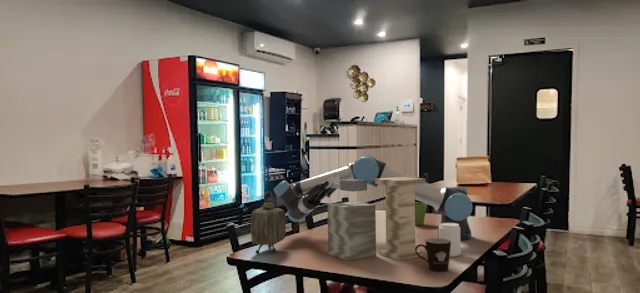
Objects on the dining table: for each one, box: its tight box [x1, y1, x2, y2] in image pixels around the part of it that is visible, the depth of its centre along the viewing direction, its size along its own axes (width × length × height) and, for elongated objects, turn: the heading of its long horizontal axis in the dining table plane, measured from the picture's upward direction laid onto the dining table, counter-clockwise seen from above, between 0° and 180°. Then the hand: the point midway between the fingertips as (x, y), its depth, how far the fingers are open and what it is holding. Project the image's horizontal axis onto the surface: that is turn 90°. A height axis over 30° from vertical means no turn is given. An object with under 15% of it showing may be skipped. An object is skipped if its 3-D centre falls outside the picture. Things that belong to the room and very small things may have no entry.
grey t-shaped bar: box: [322, 179, 368, 192], centre depth 183 cm, size 24×7×4 cm, turn 35°
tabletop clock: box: [250, 190, 287, 255], centre depth 186 cm, size 14×9×25 cm, turn 159°
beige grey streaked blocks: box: [327, 177, 427, 262], centre depth 178 cm, size 26×28×30 cm
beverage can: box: [438, 222, 462, 258], centre depth 176 cm, size 8×8×12 cm
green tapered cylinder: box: [415, 202, 428, 226], centre depth 243 cm, size 12×12×11 cm
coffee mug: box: [415, 237, 451, 273], centre depth 157 cm, size 12×9×10 cm
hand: (336, 178), depth 186 cm, fingers closed on grey t-shaped bar, 2 cm apart
